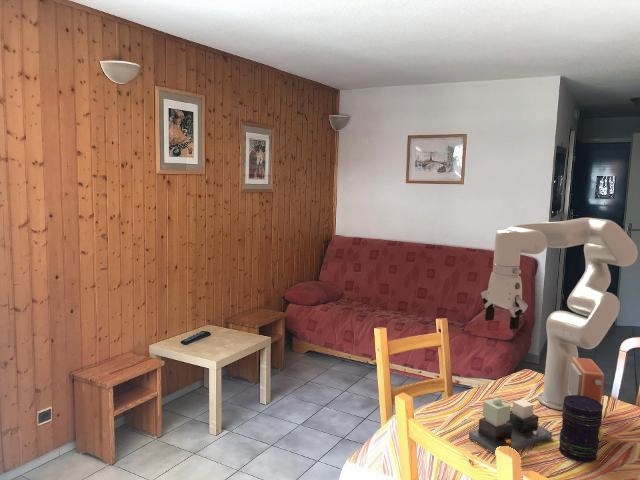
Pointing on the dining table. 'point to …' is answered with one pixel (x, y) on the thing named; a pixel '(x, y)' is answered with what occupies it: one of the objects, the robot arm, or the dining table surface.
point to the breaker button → (522, 409)
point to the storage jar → (580, 428)
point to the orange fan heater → (585, 379)
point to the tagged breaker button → (495, 423)
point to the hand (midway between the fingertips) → (501, 324)
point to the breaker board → (510, 433)
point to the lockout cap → (496, 410)
